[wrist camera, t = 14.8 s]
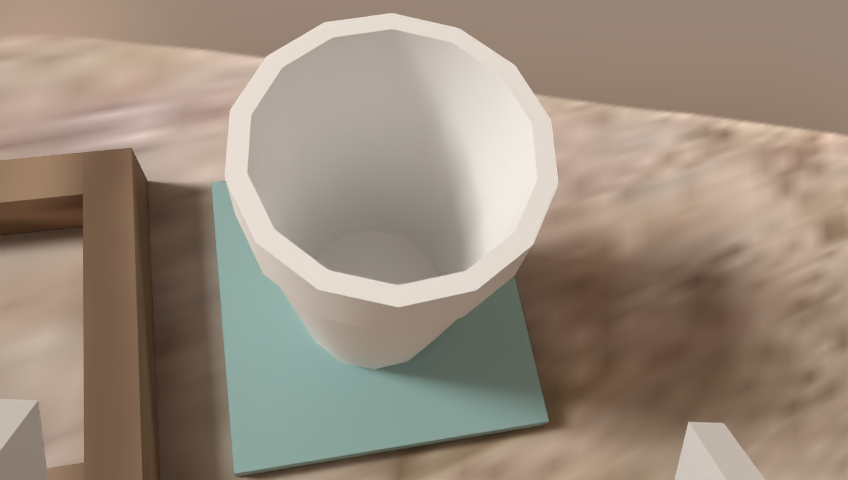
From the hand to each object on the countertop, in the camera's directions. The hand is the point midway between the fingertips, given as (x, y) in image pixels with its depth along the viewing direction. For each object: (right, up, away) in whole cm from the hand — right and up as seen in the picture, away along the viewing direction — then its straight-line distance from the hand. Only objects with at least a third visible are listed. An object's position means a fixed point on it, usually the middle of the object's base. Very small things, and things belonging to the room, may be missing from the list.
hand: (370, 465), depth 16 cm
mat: (-1, +2, +19) cm, 19 cm away
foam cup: (-1, +2, +18) cm, 18 cm away
